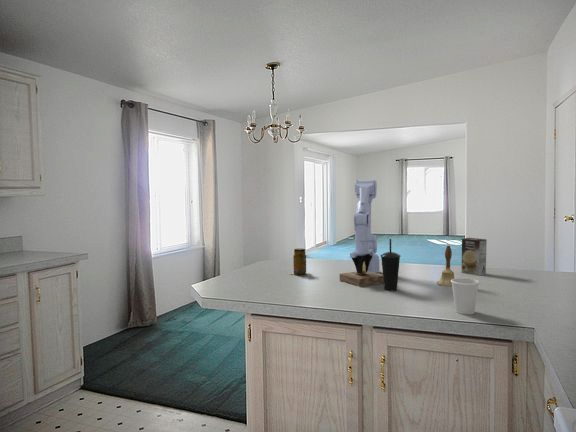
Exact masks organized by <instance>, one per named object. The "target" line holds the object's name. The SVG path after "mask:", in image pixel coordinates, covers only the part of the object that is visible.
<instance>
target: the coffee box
mask: <svg viewBox="0 0 576 432" xmlns="http://www.w3.org/2000/svg"><path fill="white" fill-rule="evenodd" d="M487 242H488V241H487V239H486V238H476V237H466V238H461V267H460V268H461V273H462V274H468V275H473V276H474V275H475V276H482V275H486V274H487V244H488V243H487Z"/></svg>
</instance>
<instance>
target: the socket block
mask: <svg viewBox="0 0 576 432" xmlns="http://www.w3.org/2000/svg"><path fill="white" fill-rule="evenodd" d="M339 281H341V282H344V283H346V284H349V285H350V284H351V285H353V286H357V287H365V286H372V285H378V284H384V280H383V273H382V274H381V273H373V272H369V271H367V272H366V276H359V275H358V273H357V272H355V271H352V272H351V271H350V272H343V273H339Z"/></svg>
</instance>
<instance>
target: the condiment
mask: <svg viewBox="0 0 576 432" xmlns="http://www.w3.org/2000/svg"><path fill="white" fill-rule="evenodd" d="M293 253H294V254H293V257H292V258H293V260H292V261H293V272H291V273H289V275H293V276H301V277H303V276H310V275H312V273H309V272H307V255H306V249H305V248H294V250H293Z"/></svg>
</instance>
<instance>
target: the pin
mask: <svg viewBox="0 0 576 432" xmlns="http://www.w3.org/2000/svg"><path fill="white" fill-rule="evenodd" d="M358 275H359V276H366V264H365V261H364V262H363V269H362V273H361V274H360V273H358Z"/></svg>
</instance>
